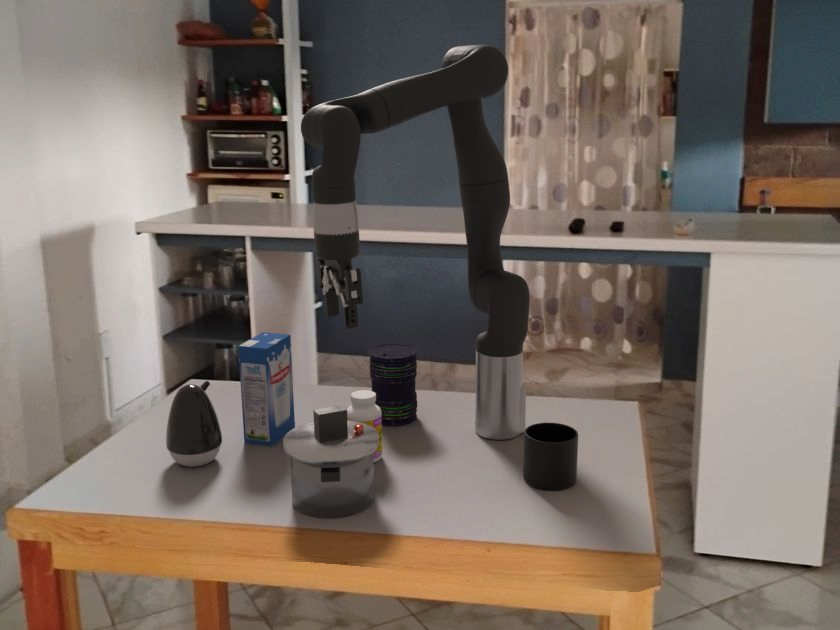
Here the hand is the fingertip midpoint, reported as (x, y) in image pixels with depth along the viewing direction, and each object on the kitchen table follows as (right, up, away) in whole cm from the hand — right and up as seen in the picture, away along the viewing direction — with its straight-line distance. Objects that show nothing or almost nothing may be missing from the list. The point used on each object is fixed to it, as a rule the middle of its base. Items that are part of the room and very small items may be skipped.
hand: (341, 321), depth 152 cm
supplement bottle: (+3, -26, +16) cm, 31 cm away
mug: (+37, -28, +7) cm, 47 cm away
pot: (-1, -30, 0) cm, 30 cm away
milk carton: (-17, -23, +27) cm, 39 cm away
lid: (-1, -21, -3) cm, 21 cm away
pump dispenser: (-29, -27, +15) cm, 42 cm away
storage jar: (+8, -21, +35) cm, 42 cm away
